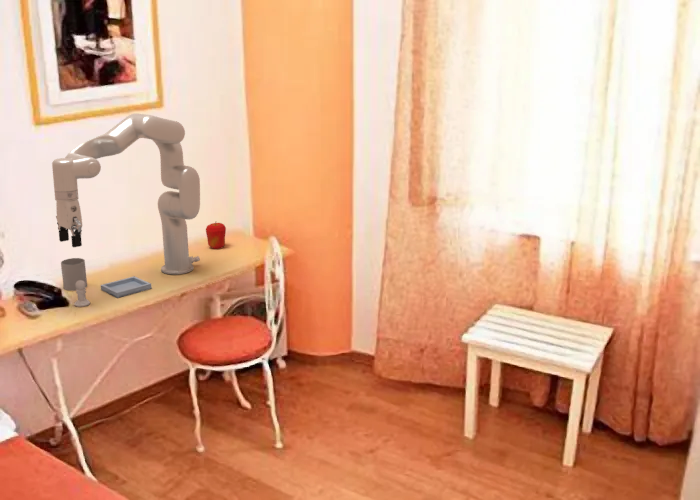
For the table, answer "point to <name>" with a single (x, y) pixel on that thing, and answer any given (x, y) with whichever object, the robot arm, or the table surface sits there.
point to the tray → (126, 287)
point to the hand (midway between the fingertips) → (70, 243)
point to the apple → (216, 235)
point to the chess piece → (81, 294)
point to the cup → (73, 273)
